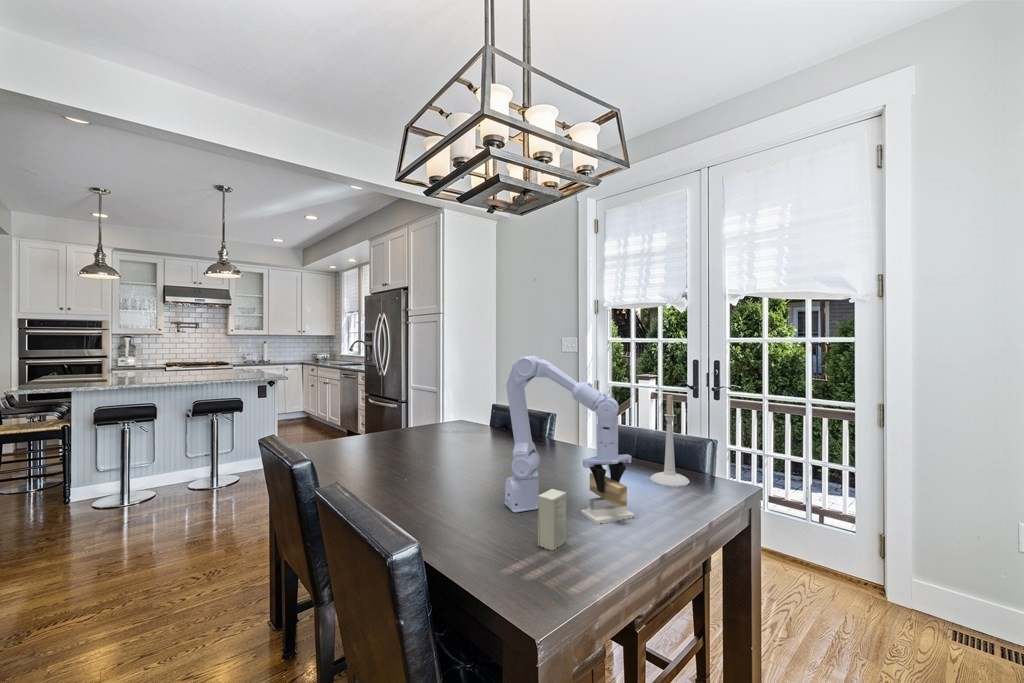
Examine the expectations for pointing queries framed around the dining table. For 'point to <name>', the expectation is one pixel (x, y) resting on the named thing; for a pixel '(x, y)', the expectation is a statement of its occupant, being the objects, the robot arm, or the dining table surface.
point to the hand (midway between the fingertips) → (607, 490)
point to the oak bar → (611, 491)
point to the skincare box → (551, 519)
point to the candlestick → (669, 455)
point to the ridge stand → (605, 511)
